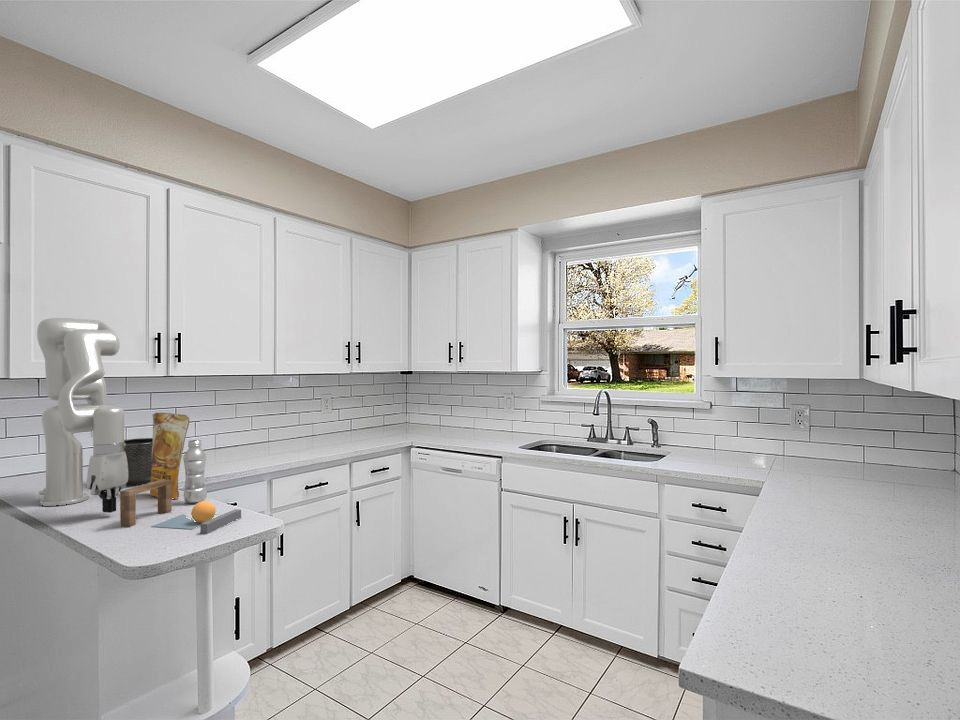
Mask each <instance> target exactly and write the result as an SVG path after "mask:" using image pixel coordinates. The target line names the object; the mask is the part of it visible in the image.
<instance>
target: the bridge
mask: <svg viewBox="0 0 960 720" xmlns="http://www.w3.org/2000/svg"><path fill="white" fill-rule="evenodd" d="M155 488H158V498H157V514H165V513H167V514H169V513H172V512H171V511H172V510H173V509H172V506H173V505H172V500H173V499H172V496H171V480H167V479H162V480H159V481H155V482H152V483H151V482H150V483H148V484H144V485H139V486H133V487H131V488H128V489H122V490H120V492H119V497H120V498H119V502H120V503H119V506H120V507H119V509H120V510H119V511H120V512H119V514H120V517H119V518H120V520H119V521H120V524H119V525H120V527H122V528H123V527H124V528H131V527H134V526H136V523H137V521H136V519H137V515H136V514H137V513H136V511H137V509H136V507H137V505H136V504H137V503H136V495H138V494H141V493H144V492H149V491H150V490H152V489H155Z"/></svg>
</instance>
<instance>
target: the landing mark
mask: <svg viewBox="0 0 960 720" xmlns="http://www.w3.org/2000/svg"><path fill="white" fill-rule="evenodd" d="M184 514H185V513H183V514H179V515H178V516H174V517H172V518H170V519H166V520H164V521H162V522H159V523H156V524H154V525H151V528H160V529H162V528H163V529H177V530H192V529H193V530H194V528H195V529H197V528H199V527H198V526H200V524H201V523H198V522H194V520H193V519H192V518H191V520H190V519H188V518H186V515H184ZM187 517H188V516H187ZM196 527H197V528H196Z"/></svg>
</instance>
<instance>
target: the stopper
mask: <svg viewBox="0 0 960 720" xmlns="http://www.w3.org/2000/svg"><path fill="white" fill-rule="evenodd" d="M219 515H220V516H218V517H216V518H213V519H211V520H209V521H206V522H204V523H201V524H200V527H199V528H200V530H199V531H200V534H204V535H207V534H210V533H212V532H214V531H217V530H219V529H221V528H223V527H225V526H228V525H229V524H228V523H230V522H232V521H234V520H236V519H239V518H241V519H242V509H233V510H230V511H228V512H225V513H223V514H219ZM239 520H240V519H239ZM236 521H237V520H236ZM234 522H235V521H234ZM232 523H233V522H232ZM227 524H228V525H227ZM230 524H231V523H230ZM224 525H225V526H224ZM220 527H221V528H220ZM218 528H219V529H218ZM216 529H217V530H216Z"/></svg>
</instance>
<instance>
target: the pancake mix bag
mask: <svg viewBox="0 0 960 720" xmlns="http://www.w3.org/2000/svg"><path fill="white" fill-rule="evenodd" d="M189 425H190V417H189V416H188V415H186V414H176V413H171V412H155V413H153V414H152V438H153V439H152V444H153V445H152V471H151V482H150V483H152V482H155V481H159V480H162V479H167V480H171V496H172V498H175V499H174V500H178V499H179V498H180V491H179V475H180V468H181V462H182V455H183V450H184V448H185V447H184V446H185V442H186V437H187V434H188V429H189ZM149 496H151V497H153V496H155V497H154V498H157V497H158V488H155V489H152V490H149ZM178 497H179V498H178ZM177 498H178V499H177Z"/></svg>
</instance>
